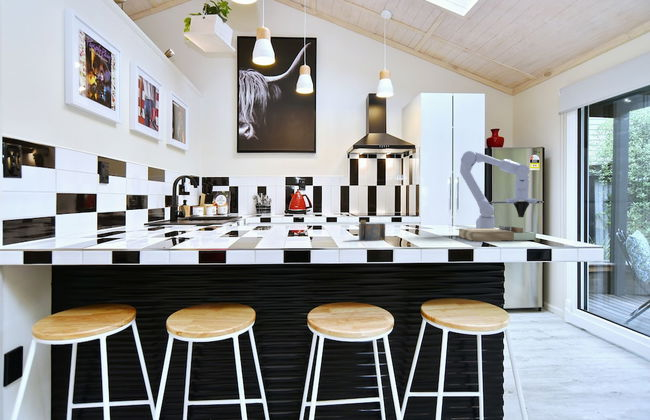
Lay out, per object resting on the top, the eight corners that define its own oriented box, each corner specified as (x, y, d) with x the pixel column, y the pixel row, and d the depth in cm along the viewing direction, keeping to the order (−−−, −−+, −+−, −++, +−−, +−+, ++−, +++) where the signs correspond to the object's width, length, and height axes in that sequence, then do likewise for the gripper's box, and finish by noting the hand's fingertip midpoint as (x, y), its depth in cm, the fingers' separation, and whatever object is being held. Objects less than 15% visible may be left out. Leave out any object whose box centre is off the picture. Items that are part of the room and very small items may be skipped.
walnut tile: (511, 226, 158) (516, 227, 158) (510, 237, 158) (516, 237, 158) (517, 228, 153) (522, 228, 153) (517, 239, 153) (522, 239, 153)
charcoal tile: (499, 225, 164) (504, 225, 164) (499, 236, 164) (504, 236, 165) (505, 226, 159) (510, 226, 159) (504, 237, 159) (510, 237, 160)
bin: (495, 236, 167) (495, 229, 166) (515, 236, 167) (515, 229, 167) (513, 240, 152) (513, 233, 151) (535, 240, 152) (535, 232, 152)
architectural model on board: (360, 241, 151) (360, 219, 151) (359, 240, 154) (359, 219, 154) (385, 241, 153) (385, 219, 152) (383, 240, 156) (383, 218, 155)
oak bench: (459, 236, 166) (459, 228, 166) (495, 236, 167) (495, 228, 166) (473, 240, 151) (473, 231, 151) (513, 240, 152) (513, 231, 151)
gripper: (512, 189, 164) (511, 217, 165) (541, 189, 165) (540, 217, 166) (503, 189, 171) (503, 216, 172) (532, 189, 172) (531, 216, 173)
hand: (521, 217), depth 169 cm, fingers closed
